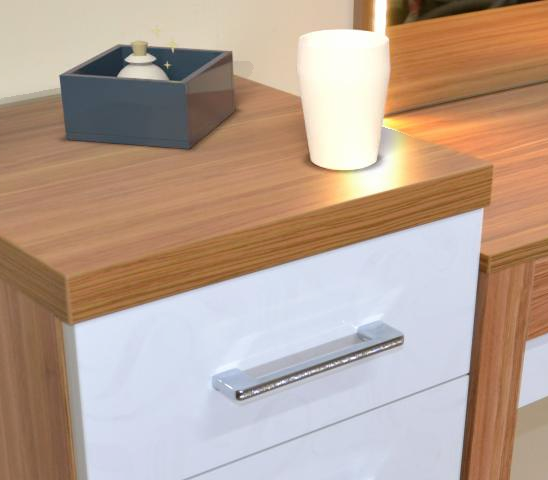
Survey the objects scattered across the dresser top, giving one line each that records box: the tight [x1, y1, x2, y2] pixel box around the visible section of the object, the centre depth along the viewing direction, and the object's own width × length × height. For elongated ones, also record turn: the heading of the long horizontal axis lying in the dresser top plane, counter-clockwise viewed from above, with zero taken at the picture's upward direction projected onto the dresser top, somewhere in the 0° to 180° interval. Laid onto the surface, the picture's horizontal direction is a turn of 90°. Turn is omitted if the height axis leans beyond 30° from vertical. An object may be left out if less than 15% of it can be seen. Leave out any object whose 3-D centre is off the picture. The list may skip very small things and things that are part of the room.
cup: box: [296, 28, 391, 171], centre depth 112 cm, size 9×9×12 cm
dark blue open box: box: [58, 43, 236, 150], centre depth 123 cm, size 15×14×7 cm
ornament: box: [117, 24, 180, 80], centre depth 122 cm, size 6×7×10 cm
